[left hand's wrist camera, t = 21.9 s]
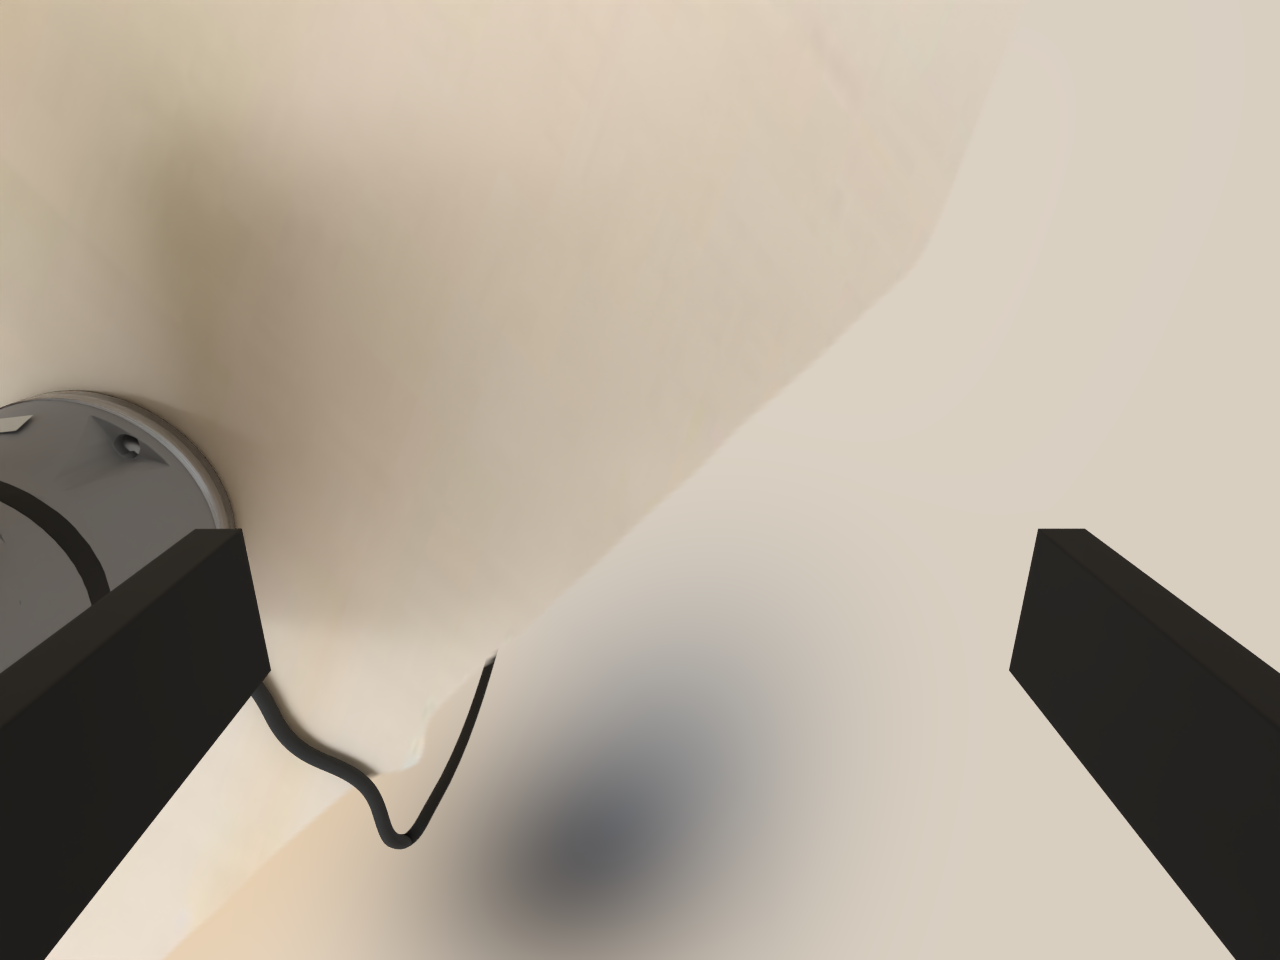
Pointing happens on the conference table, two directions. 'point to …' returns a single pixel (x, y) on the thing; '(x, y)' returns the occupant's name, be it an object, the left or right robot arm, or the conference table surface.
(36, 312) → the conference table surface
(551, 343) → the conference table surface
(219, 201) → the conference table surface
